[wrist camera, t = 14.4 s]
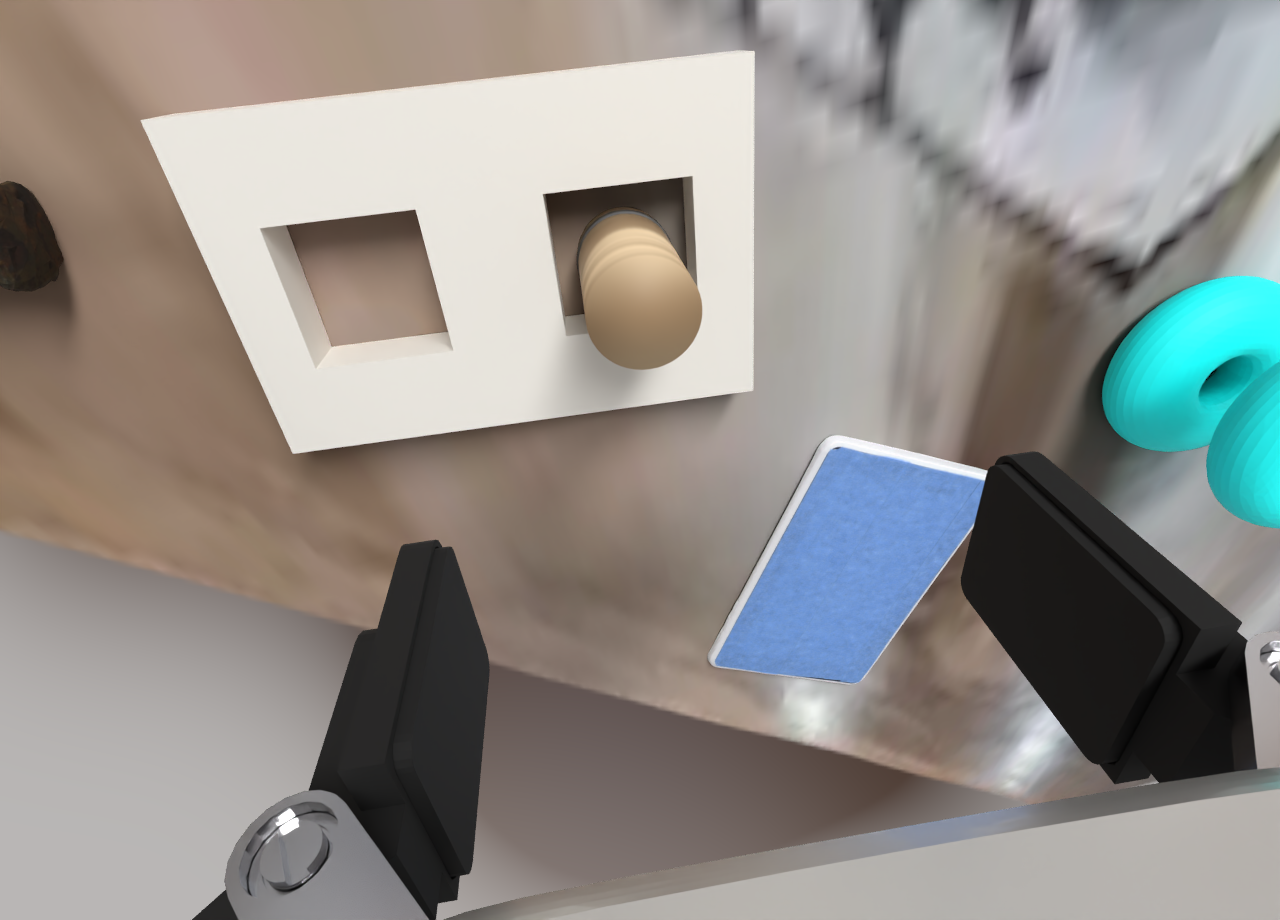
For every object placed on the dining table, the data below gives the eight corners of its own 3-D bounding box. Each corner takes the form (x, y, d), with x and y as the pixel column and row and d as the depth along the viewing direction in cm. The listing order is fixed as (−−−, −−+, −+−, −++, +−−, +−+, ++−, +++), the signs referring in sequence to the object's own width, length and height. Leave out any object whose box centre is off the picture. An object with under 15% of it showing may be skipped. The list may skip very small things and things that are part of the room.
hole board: (174, 113, 25) (140, 120, 23) (738, 50, 26) (754, 51, 24) (309, 427, 33) (292, 453, 31) (740, 369, 34) (753, 390, 32)
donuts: (1335, 343, 25) (1551, 342, 26) (1138, 267, 33) (1308, 269, 34) (1203, 545, 30) (1387, 537, 31) (1062, 436, 39) (1212, 432, 40)
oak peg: (568, 204, 28) (575, 263, 21) (661, 193, 29) (701, 247, 21) (581, 295, 31) (592, 378, 23) (667, 284, 31) (706, 363, 23)
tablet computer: (853, 676, 50) (860, 690, 48) (701, 656, 46) (704, 671, 45) (999, 468, 40) (1011, 481, 39) (820, 425, 37) (828, 437, 36)
